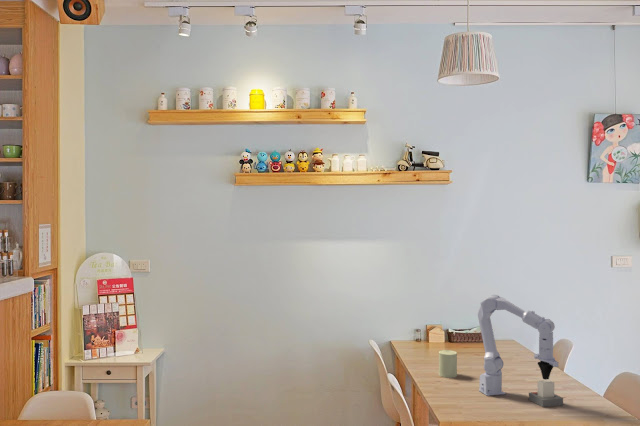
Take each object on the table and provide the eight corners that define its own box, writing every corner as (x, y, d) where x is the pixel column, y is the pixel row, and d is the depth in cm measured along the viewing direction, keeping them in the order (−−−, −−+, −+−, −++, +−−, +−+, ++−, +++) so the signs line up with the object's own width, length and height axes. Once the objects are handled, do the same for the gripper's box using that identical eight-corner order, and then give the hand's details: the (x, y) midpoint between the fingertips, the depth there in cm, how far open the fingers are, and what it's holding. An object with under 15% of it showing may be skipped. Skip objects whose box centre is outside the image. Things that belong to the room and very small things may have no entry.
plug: (554, 401, 258) (554, 382, 258) (543, 402, 257) (543, 383, 257) (548, 398, 262) (548, 379, 262) (537, 399, 261) (537, 380, 260)
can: (454, 372, 305) (454, 349, 304) (459, 377, 295) (459, 353, 295) (436, 372, 304) (436, 349, 304) (440, 377, 295) (440, 353, 295)
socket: (563, 405, 256) (563, 397, 256) (542, 407, 253) (542, 399, 253) (548, 397, 265) (548, 390, 265) (528, 399, 263) (528, 392, 263)
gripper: (564, 351, 253) (564, 383, 253) (543, 343, 267) (543, 373, 267) (550, 352, 251) (549, 384, 251) (530, 344, 265) (529, 374, 265)
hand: (545, 379), depth 259 cm, fingers closed
